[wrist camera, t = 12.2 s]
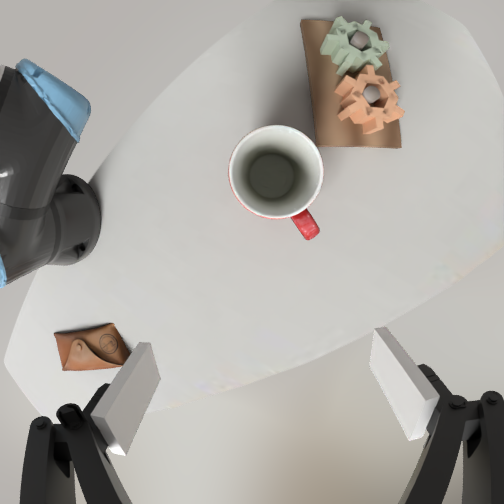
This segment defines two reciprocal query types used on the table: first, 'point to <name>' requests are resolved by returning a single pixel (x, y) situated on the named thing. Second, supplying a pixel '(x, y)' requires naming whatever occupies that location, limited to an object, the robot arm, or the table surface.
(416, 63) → the table surface
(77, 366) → the sunglasses case
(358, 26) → the gear
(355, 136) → the gear board
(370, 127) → the gear
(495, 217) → the table surface
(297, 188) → the mug
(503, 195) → the table surface
